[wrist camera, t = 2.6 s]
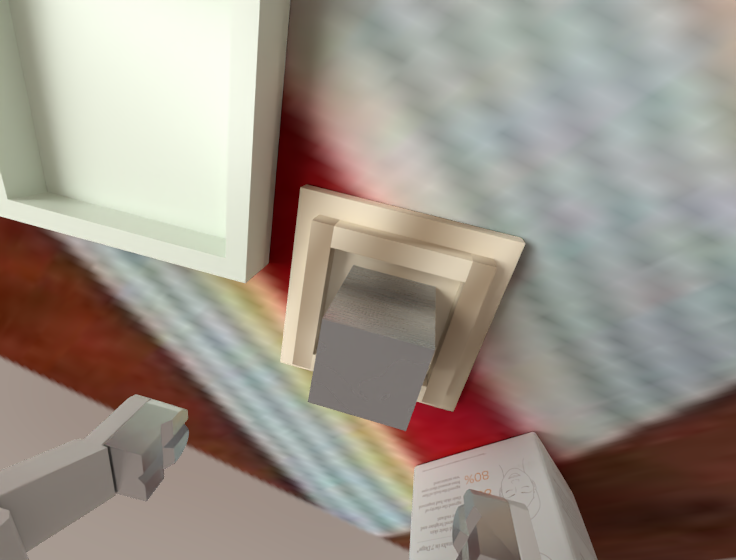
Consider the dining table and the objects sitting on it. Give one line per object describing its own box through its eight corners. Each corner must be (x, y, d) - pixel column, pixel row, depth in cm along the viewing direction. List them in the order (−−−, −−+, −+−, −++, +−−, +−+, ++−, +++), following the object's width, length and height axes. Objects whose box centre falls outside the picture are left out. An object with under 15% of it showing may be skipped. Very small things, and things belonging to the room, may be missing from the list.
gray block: (435, 286, 16) (435, 349, 12) (413, 354, 18) (406, 430, 14) (353, 265, 17) (322, 318, 12) (339, 333, 18) (308, 401, 14)
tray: (295, -61, 13) (265, -99, 10) (268, 263, 18) (245, 283, 16) (-23, -123, 14) (-114, -170, 11) (45, 203, 19) (-6, 214, 17)
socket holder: (521, 237, 16) (531, 251, 14) (452, 401, 20) (453, 426, 18) (306, 184, 16) (292, 191, 15) (285, 353, 21) (273, 373, 19)
